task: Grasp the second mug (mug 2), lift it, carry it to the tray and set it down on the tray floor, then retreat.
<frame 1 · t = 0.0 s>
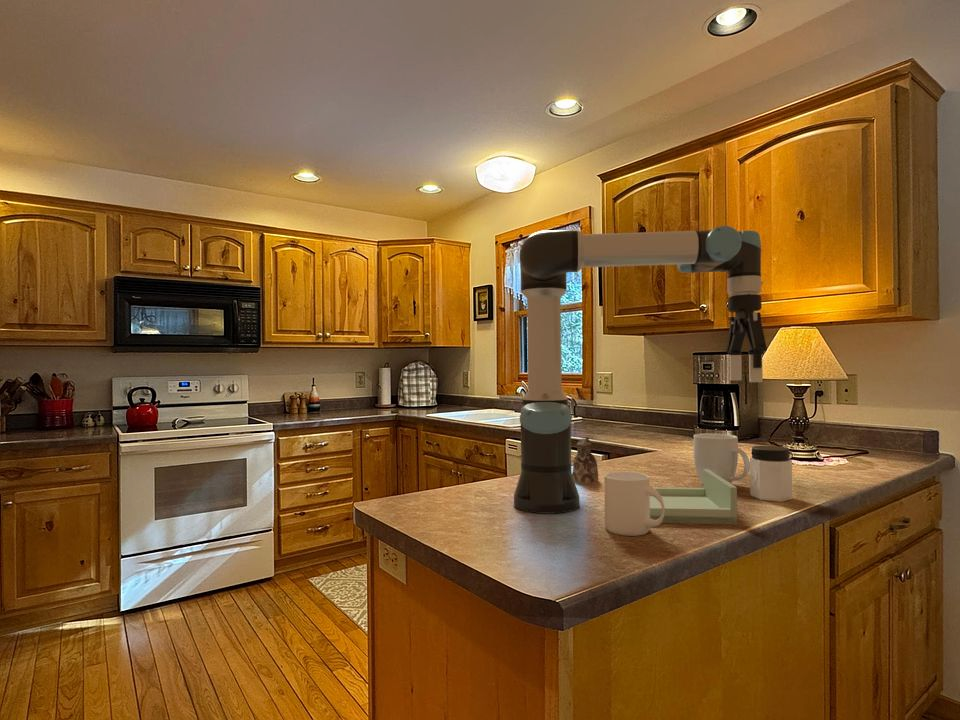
hand: (745, 381, 138), 28 cm above the counter, fingers open, 13 cm apart
tray: (678, 511, 124), on the counter
figurine: (585, 482, 156), on the counter
mug: (719, 486, 149), on the counter
mug 2: (635, 532, 109), on the counter
jar: (771, 498, 135), on the counter
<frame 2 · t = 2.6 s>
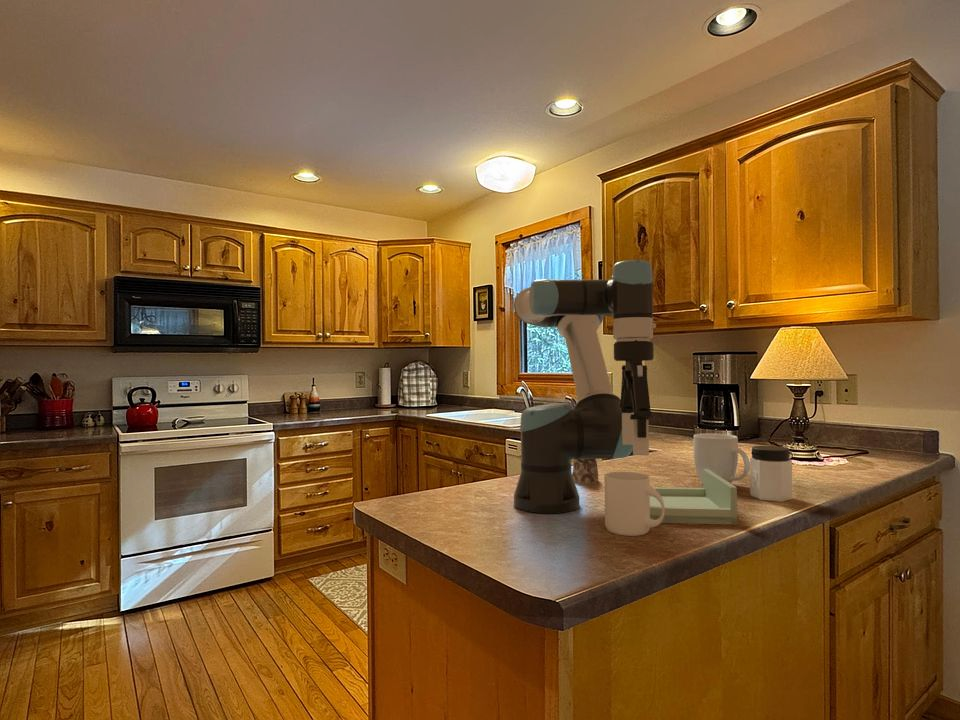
hand: (634, 449, 109), 16 cm above the counter, fingers open, 13 cm apart
nothing on the counter moved.
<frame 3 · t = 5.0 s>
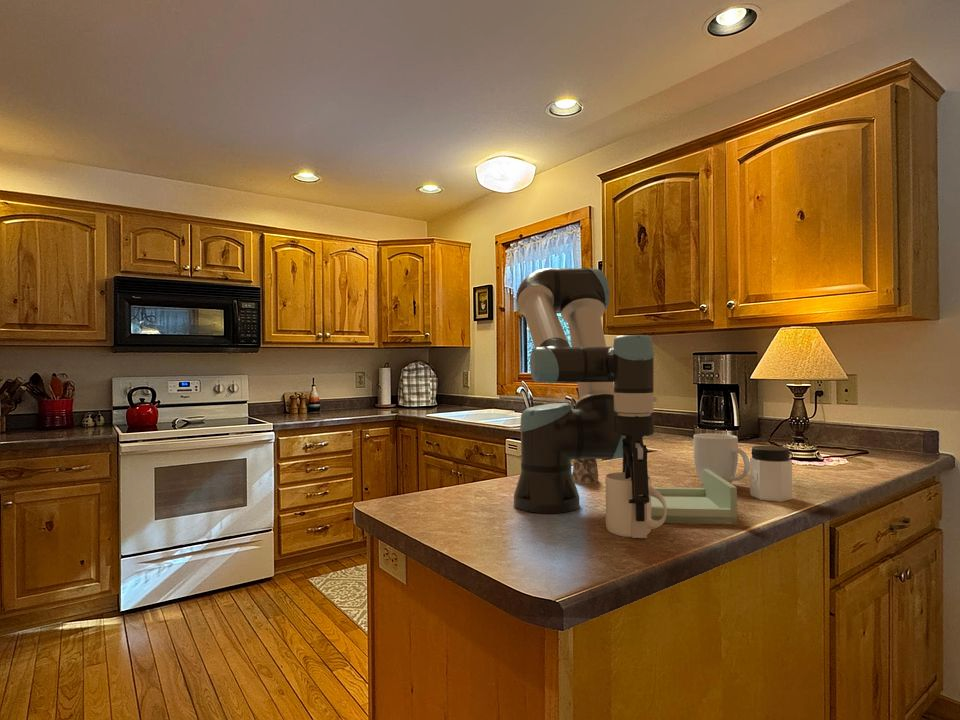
hand: (635, 529, 109), 0 cm above the counter, fingers closed on mug 2, 9 cm apart
mug 2: (636, 534, 109), on the counter, touching gripper
everything else where it was.
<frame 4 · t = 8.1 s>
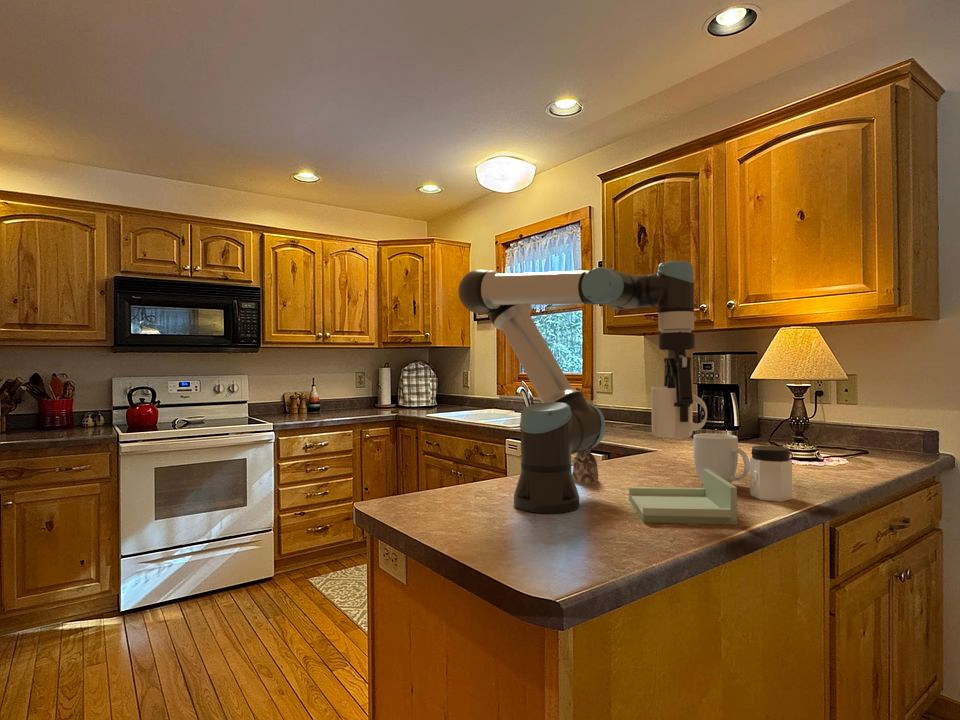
hand: (677, 434, 124), 17 cm above the counter, fingers closed on mug 2, 9 cm apart
mug 2: (679, 437, 123), point 16 cm above the counter, touching gripper
everything else where it was.
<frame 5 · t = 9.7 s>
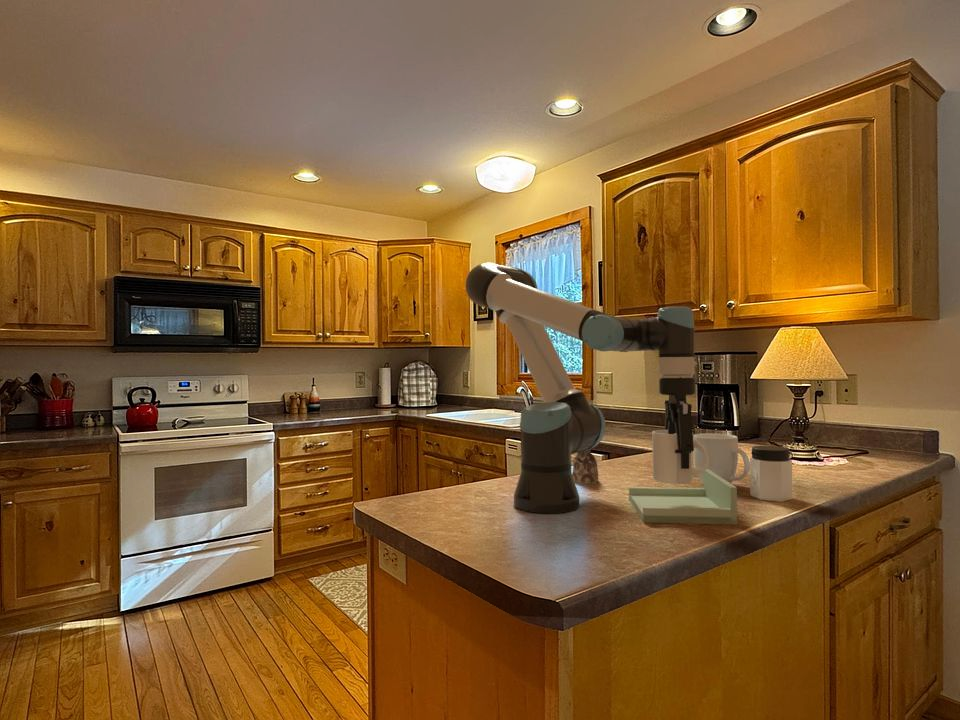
hand: (678, 478, 124), 7 cm above the counter, fingers closed on mug 2, 9 cm apart
mug 2: (680, 482, 123), point 7 cm above the counter, touching gripper
everything else where it was.
when the fingers open (4 cm above the counter, at t = 11.3 s): mug 2 drops 2 cm, resting on tray.
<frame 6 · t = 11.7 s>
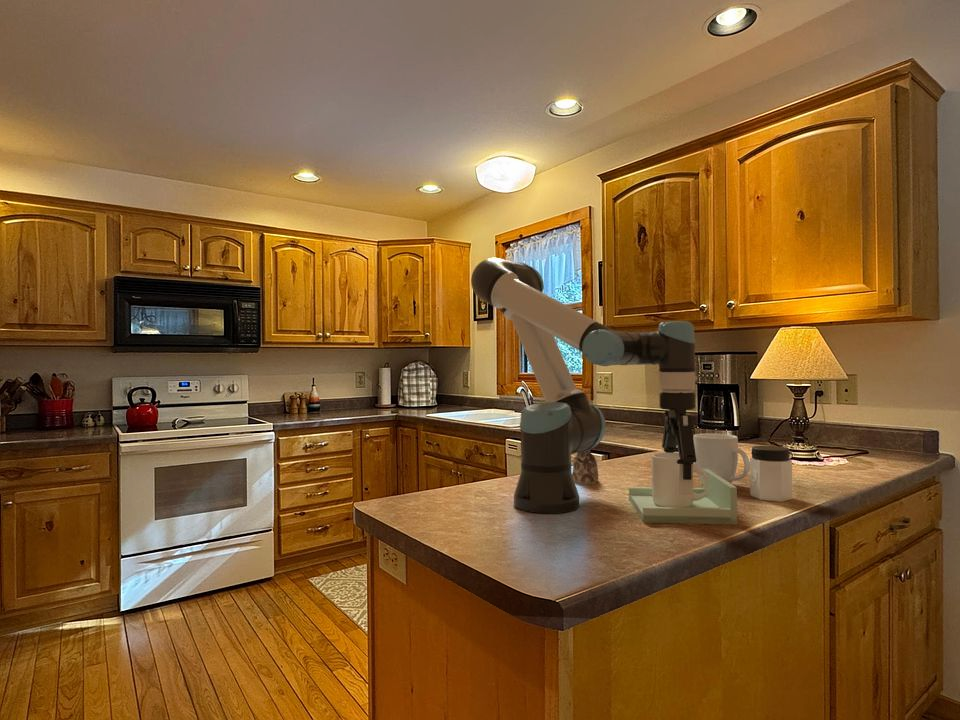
hand: (678, 487, 124), 5 cm above the counter, fingers open, 13 cm apart
mug 2: (680, 506, 123), point 1 cm above the counter, touching tray
everything else where it was.
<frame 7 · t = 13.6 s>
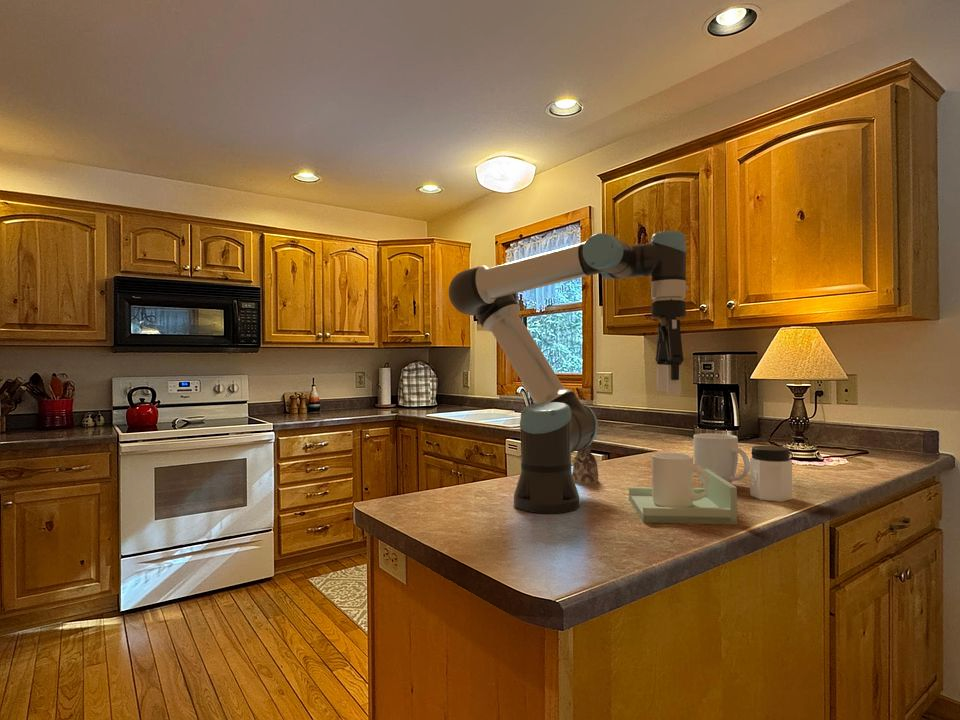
hand: (668, 393, 128), 26 cm above the counter, fingers open, 13 cm apart
nothing on the counter moved.
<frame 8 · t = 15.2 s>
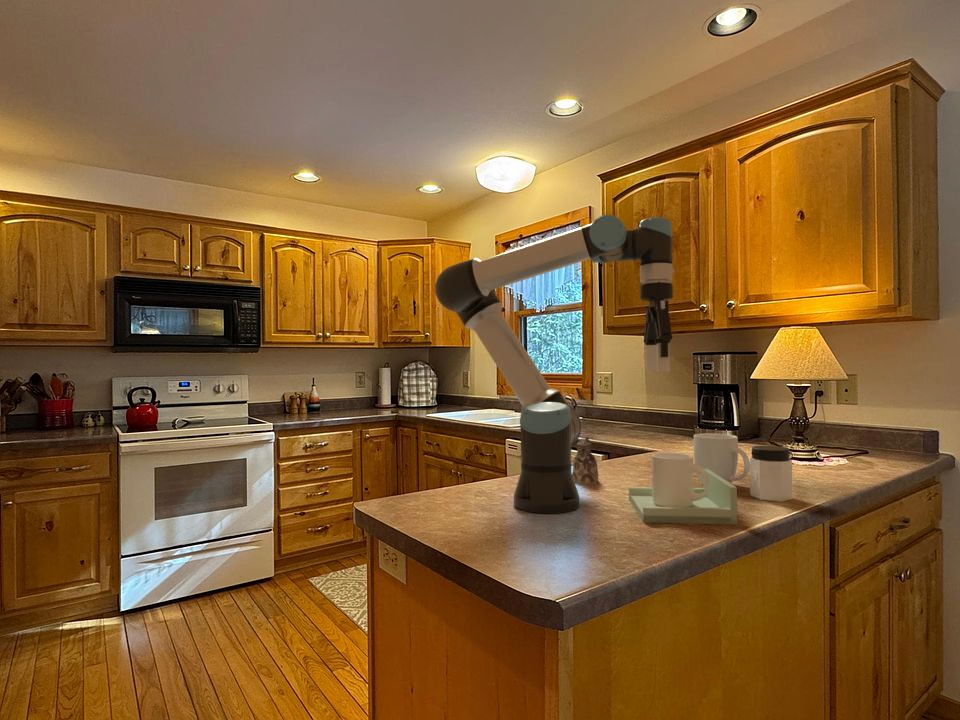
hand: (657, 371, 135), 31 cm above the counter, fingers open, 13 cm apart
nothing on the counter moved.
at the end: mug 2 inside the target area on the tray (0.9 cm from its centre), point 1.3 cm above the tray's base; mug 2 tilted 0°; the gripper is holding nothing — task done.
